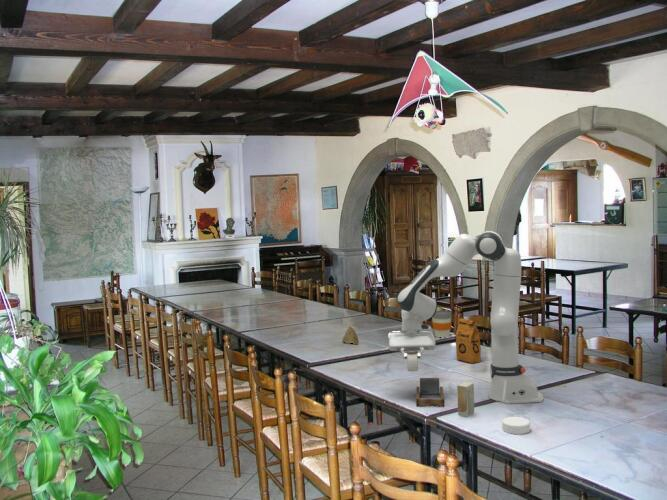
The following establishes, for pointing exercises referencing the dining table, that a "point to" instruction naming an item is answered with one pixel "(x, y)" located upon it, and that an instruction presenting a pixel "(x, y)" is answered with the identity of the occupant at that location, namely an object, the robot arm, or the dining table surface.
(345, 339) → the rock
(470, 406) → the skincare box
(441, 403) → the brown wooden rectangular frame
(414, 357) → the jar
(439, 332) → the reusable coffee cup
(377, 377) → the dining table surface
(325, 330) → the dining table surface
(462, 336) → the coffee package
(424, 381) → the bar
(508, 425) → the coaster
